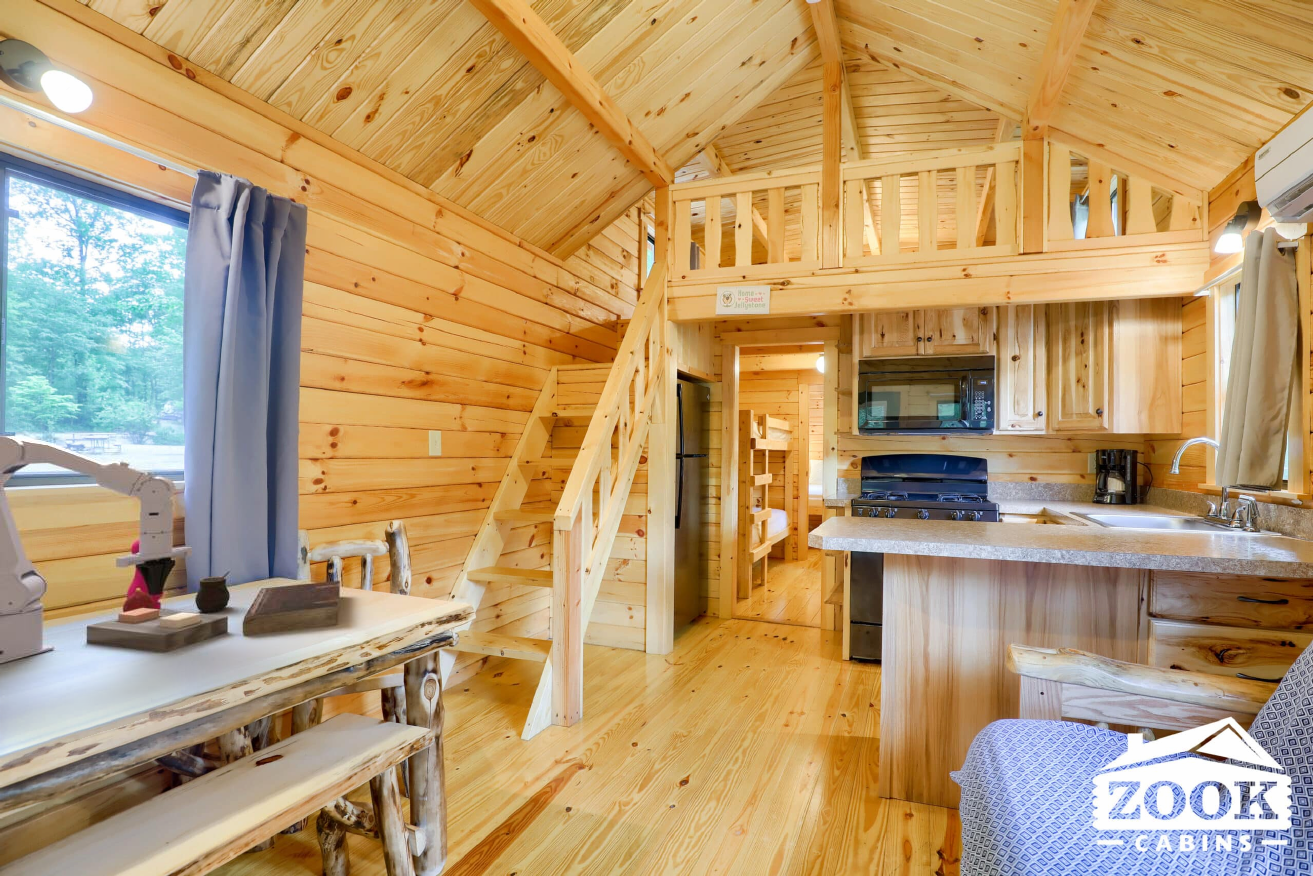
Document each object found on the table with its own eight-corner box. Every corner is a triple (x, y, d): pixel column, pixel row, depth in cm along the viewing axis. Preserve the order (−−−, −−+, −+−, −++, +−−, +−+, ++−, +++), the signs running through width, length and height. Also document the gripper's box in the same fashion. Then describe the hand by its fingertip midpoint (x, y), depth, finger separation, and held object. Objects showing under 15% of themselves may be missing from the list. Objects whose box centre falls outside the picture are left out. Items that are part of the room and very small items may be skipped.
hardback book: (259, 606, 165) (260, 587, 165) (339, 598, 173) (339, 580, 173) (242, 638, 139) (242, 615, 139) (337, 627, 147) (337, 606, 147)
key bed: (164, 652, 128) (164, 635, 128) (86, 642, 134) (86, 626, 134) (227, 632, 142) (227, 616, 142) (154, 623, 147) (154, 609, 147)
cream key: (177, 634, 133) (177, 620, 133) (159, 632, 134) (159, 618, 134) (199, 627, 138) (200, 614, 138) (182, 625, 139) (182, 612, 139)
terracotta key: (135, 629, 136) (135, 615, 136) (118, 627, 138) (118, 613, 138) (158, 623, 141) (159, 609, 141) (142, 621, 142) (142, 608, 142)
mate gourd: (202, 607, 162) (203, 568, 162) (235, 605, 164) (236, 567, 164) (189, 614, 155) (190, 574, 155) (224, 613, 157) (225, 573, 157)
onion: (160, 619, 151) (160, 585, 151) (138, 626, 146) (139, 591, 146) (138, 618, 152) (138, 585, 152) (116, 625, 146) (116, 591, 146)
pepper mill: (141, 616, 153) (143, 534, 153) (118, 614, 155) (120, 533, 155) (170, 609, 160) (172, 530, 160) (148, 606, 162) (150, 529, 162)
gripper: (134, 538, 129) (133, 604, 129) (202, 528, 143) (201, 588, 143) (109, 536, 131) (108, 601, 131) (179, 527, 145) (178, 585, 145)
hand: (155, 594), depth 137 cm, fingers closed
